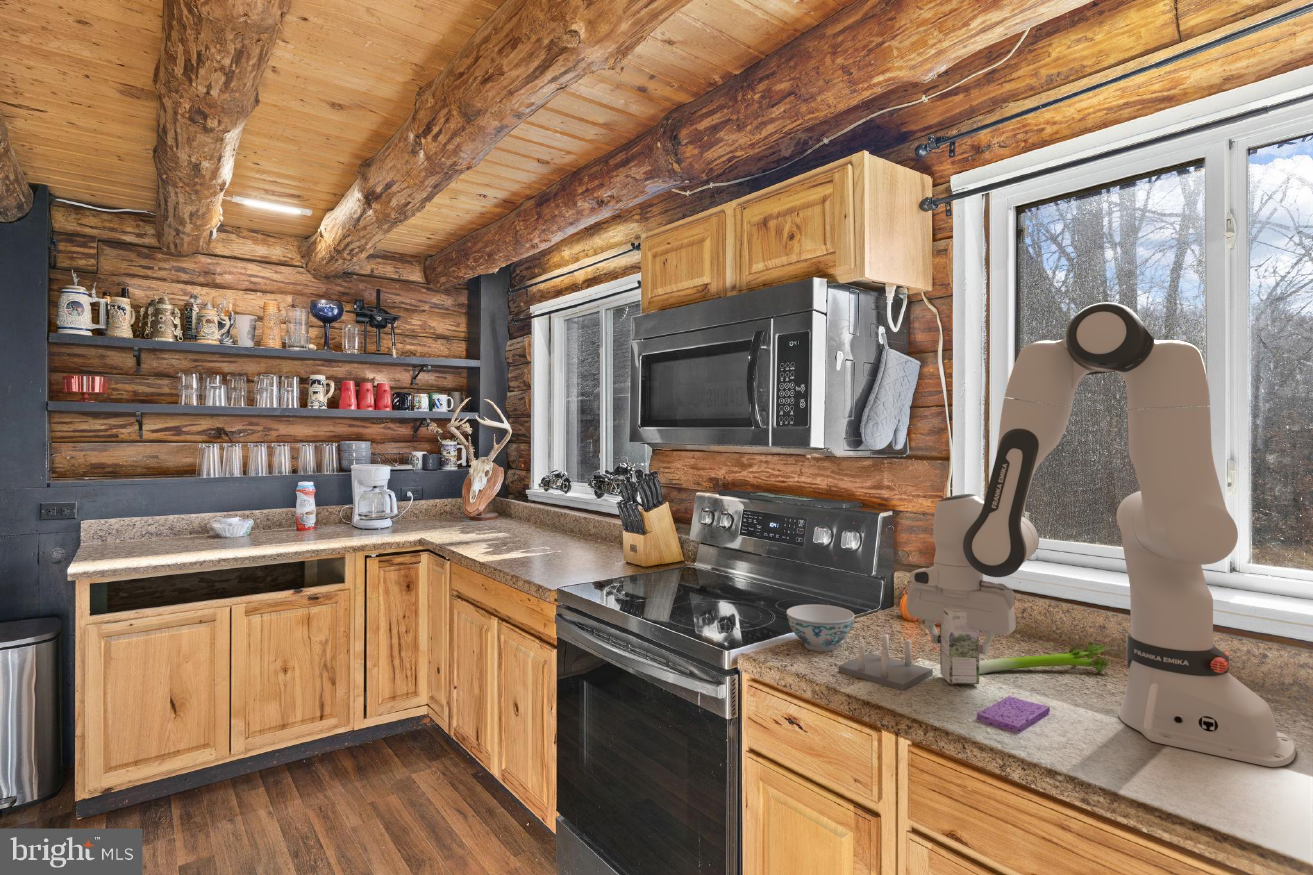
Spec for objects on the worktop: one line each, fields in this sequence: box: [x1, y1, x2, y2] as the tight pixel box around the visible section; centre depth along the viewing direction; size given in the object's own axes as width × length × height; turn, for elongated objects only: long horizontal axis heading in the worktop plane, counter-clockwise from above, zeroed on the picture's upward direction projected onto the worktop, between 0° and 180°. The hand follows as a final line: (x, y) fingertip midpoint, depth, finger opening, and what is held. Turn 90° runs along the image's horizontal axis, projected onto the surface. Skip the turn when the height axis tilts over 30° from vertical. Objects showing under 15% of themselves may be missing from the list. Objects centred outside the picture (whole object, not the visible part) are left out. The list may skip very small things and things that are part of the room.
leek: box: [979, 642, 1111, 675], centre depth 142 cm, size 6×7×30 cm
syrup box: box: [939, 606, 980, 685], centre depth 136 cm, size 6×6×14 cm
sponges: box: [976, 695, 1051, 734], centre depth 120 cm, size 7×13×2 cm, turn 130°
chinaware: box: [786, 604, 855, 652], centre depth 159 cm, size 15×15×8 cm
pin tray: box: [837, 634, 934, 691], centre depth 141 cm, size 14×12×6 cm
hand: (959, 647), depth 136 cm, fingers closed on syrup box, 8 cm apart
